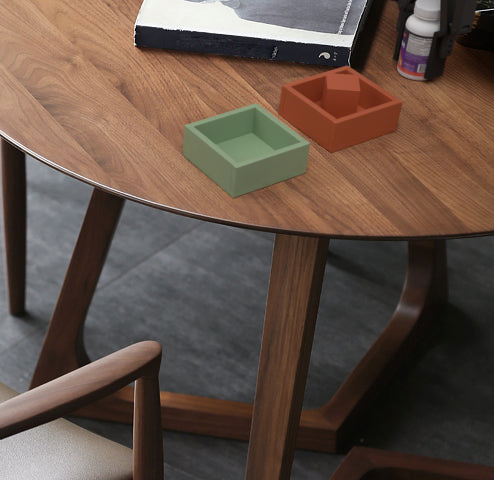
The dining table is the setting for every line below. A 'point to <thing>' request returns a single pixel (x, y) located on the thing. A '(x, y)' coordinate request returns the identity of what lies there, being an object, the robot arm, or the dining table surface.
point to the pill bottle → (418, 39)
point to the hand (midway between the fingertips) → (417, 66)
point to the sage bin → (245, 149)
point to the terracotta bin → (346, 128)
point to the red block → (340, 94)
